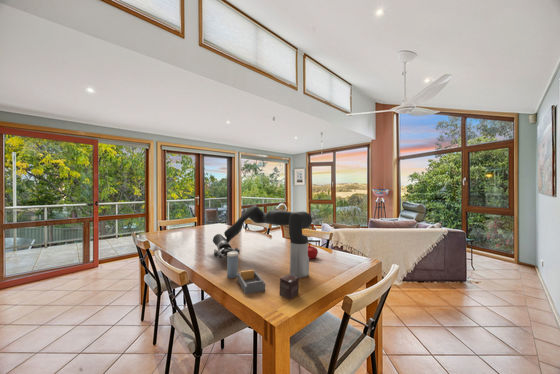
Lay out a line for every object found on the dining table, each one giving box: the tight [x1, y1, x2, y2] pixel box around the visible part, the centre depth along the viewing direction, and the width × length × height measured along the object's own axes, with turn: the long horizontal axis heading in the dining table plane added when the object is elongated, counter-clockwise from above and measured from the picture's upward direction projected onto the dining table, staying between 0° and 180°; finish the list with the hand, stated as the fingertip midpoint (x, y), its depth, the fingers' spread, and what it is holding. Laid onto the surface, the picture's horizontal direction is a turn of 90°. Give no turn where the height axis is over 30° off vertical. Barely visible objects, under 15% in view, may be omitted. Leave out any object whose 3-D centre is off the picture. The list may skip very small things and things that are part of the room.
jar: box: [226, 251, 239, 279], centre depth 115 cm, size 6×6×12 cm
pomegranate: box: [308, 243, 319, 260], centre depth 147 cm, size 10×10×9 cm
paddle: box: [240, 269, 255, 280], centre depth 111 cm, size 7×1×4 cm, turn 113°
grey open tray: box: [236, 270, 266, 295], centre depth 106 cm, size 9×16×4 cm, turn 23°
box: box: [279, 273, 300, 300], centre depth 97 cm, size 6×6×7 cm
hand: (228, 255), depth 125 cm, fingers open, 8 cm apart
